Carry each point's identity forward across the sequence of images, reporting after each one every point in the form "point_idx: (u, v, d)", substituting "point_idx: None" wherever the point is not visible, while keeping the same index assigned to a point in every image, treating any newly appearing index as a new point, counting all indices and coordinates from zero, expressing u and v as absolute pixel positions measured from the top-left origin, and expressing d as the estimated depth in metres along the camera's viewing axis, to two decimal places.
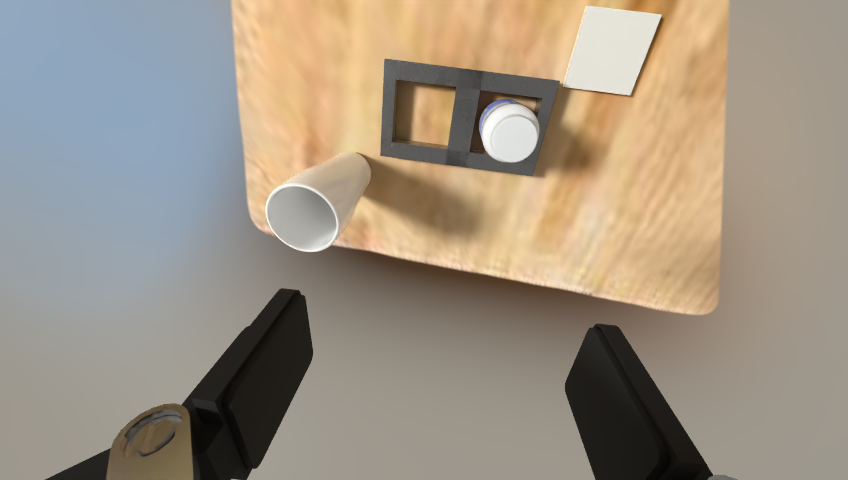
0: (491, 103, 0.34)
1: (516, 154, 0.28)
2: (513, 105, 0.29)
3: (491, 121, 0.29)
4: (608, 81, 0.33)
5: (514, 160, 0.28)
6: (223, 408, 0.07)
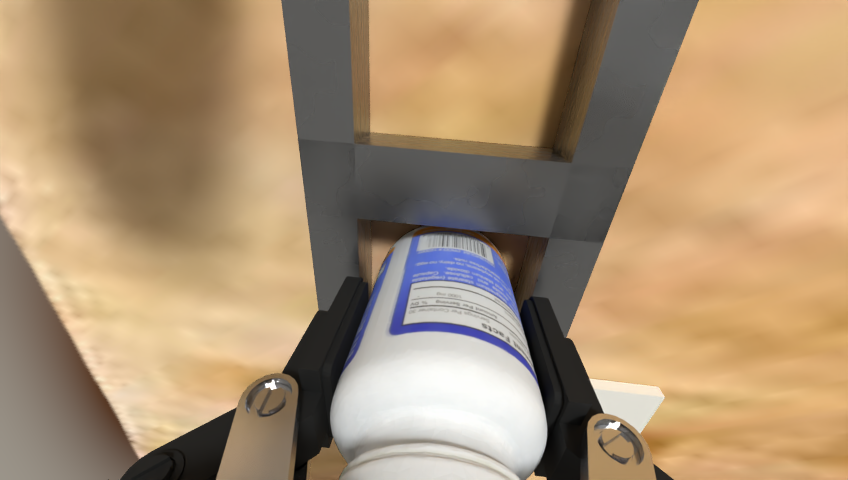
0: (500, 257, 0.12)
1: None
2: (545, 440, 0.07)
3: (494, 402, 0.06)
4: None
5: None
6: (323, 377, 0.07)
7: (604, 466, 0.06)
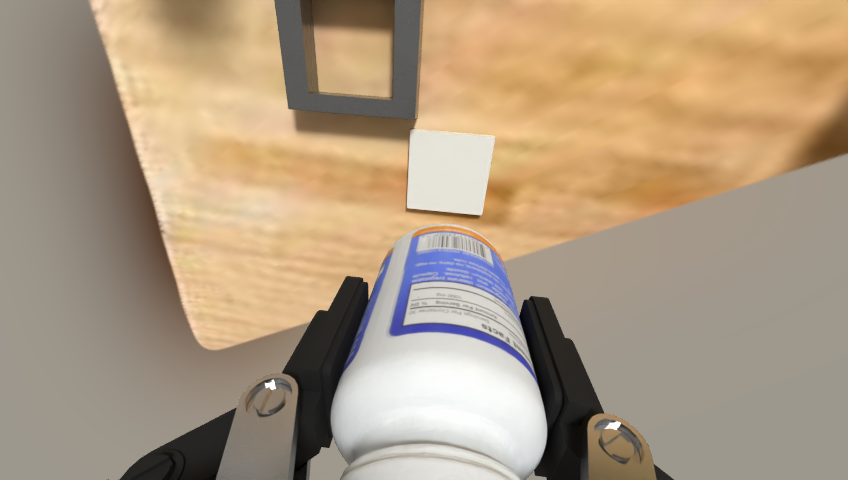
0: (499, 257, 0.12)
1: None
2: (545, 440, 0.07)
3: (494, 402, 0.06)
4: (419, 181, 0.28)
5: None
6: (322, 378, 0.07)
7: (604, 466, 0.06)
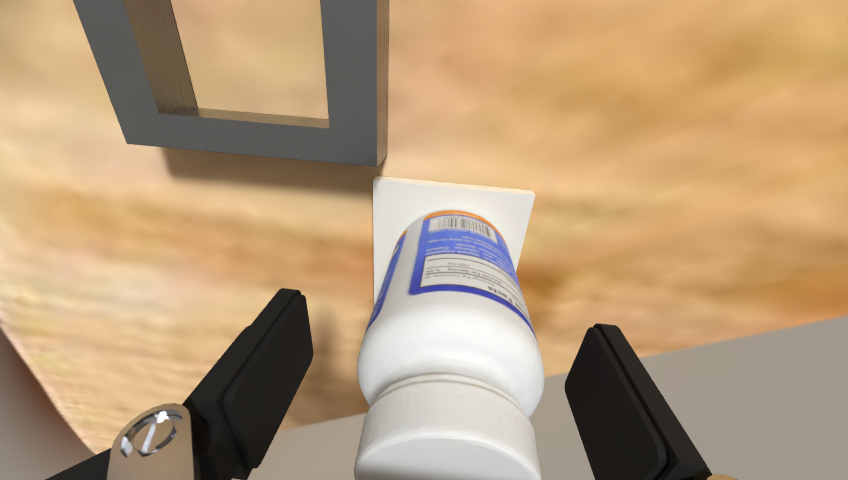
0: (503, 239, 0.13)
1: None
2: (542, 385, 0.09)
3: (499, 345, 0.08)
4: None
5: None
6: (224, 408, 0.07)
7: None
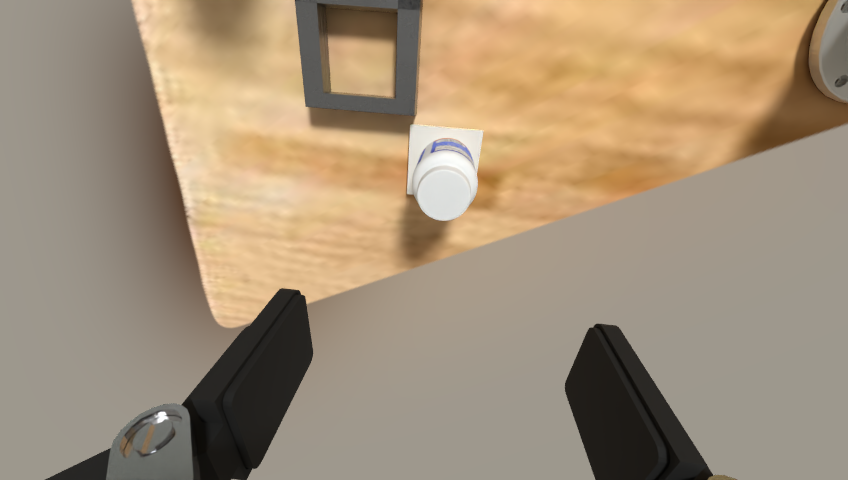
0: None
1: (427, 201, 0.23)
2: (477, 184, 0.25)
3: (460, 162, 0.24)
4: None
5: (419, 199, 0.23)
6: (223, 408, 0.07)
7: None
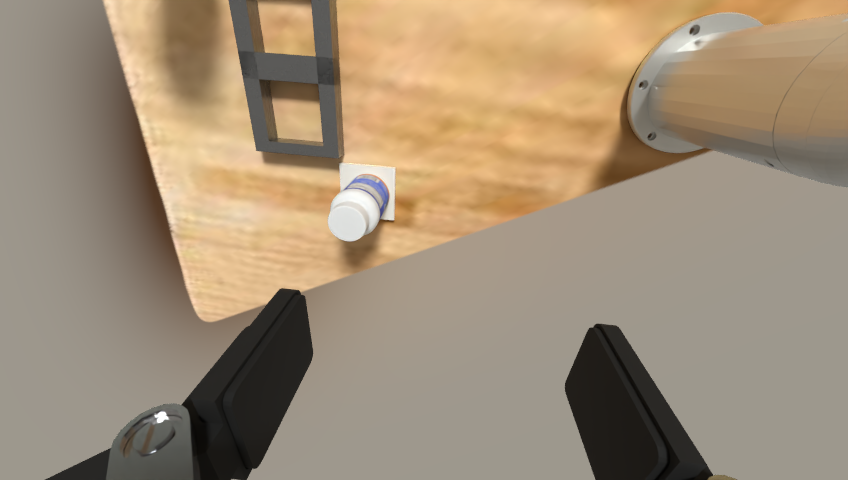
0: (384, 183, 0.38)
1: (335, 227, 0.32)
2: (377, 213, 0.34)
3: (362, 198, 0.32)
4: None
5: (330, 226, 0.32)
6: (223, 408, 0.07)
7: None
